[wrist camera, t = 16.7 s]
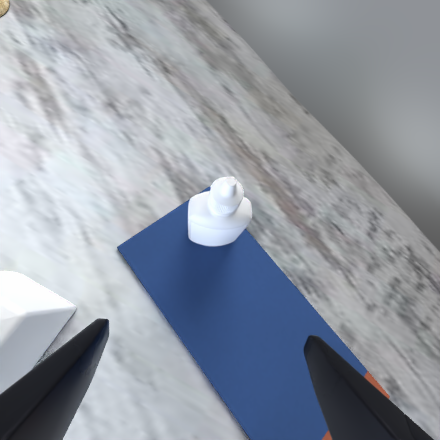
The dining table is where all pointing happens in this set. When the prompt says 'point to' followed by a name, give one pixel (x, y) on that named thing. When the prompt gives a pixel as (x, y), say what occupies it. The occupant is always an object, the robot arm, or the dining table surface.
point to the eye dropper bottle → (219, 213)
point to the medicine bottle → (27, 324)
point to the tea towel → (239, 325)
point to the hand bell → (3, 7)
